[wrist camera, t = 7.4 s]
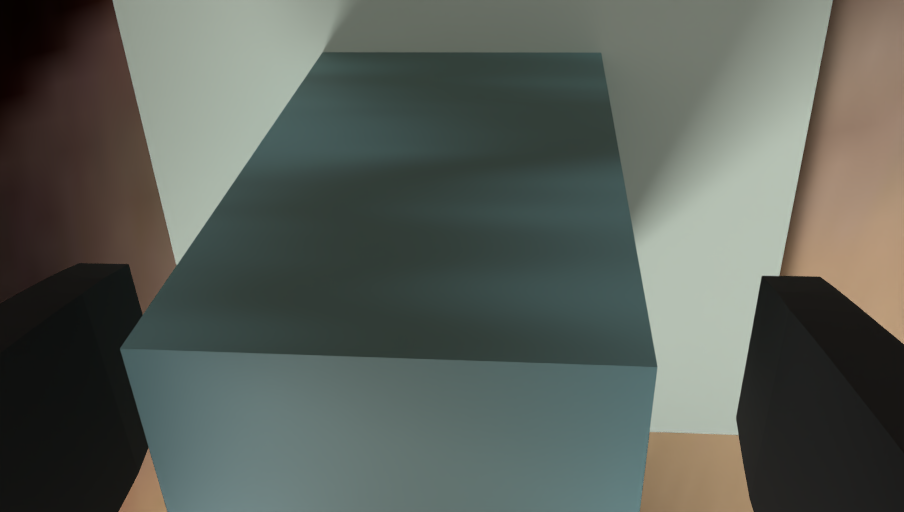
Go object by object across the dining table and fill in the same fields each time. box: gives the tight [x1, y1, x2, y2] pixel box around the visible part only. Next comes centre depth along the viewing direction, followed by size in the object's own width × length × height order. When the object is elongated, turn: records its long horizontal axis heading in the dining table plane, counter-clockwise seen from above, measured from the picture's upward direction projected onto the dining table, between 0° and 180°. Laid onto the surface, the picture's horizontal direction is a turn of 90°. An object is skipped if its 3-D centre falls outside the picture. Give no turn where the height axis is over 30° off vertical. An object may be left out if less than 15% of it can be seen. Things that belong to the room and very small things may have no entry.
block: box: [120, 52, 657, 512], centre depth 10 cm, size 4×4×7 cm
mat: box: [113, 0, 833, 435], centre depth 14 cm, size 10×10×1 cm
